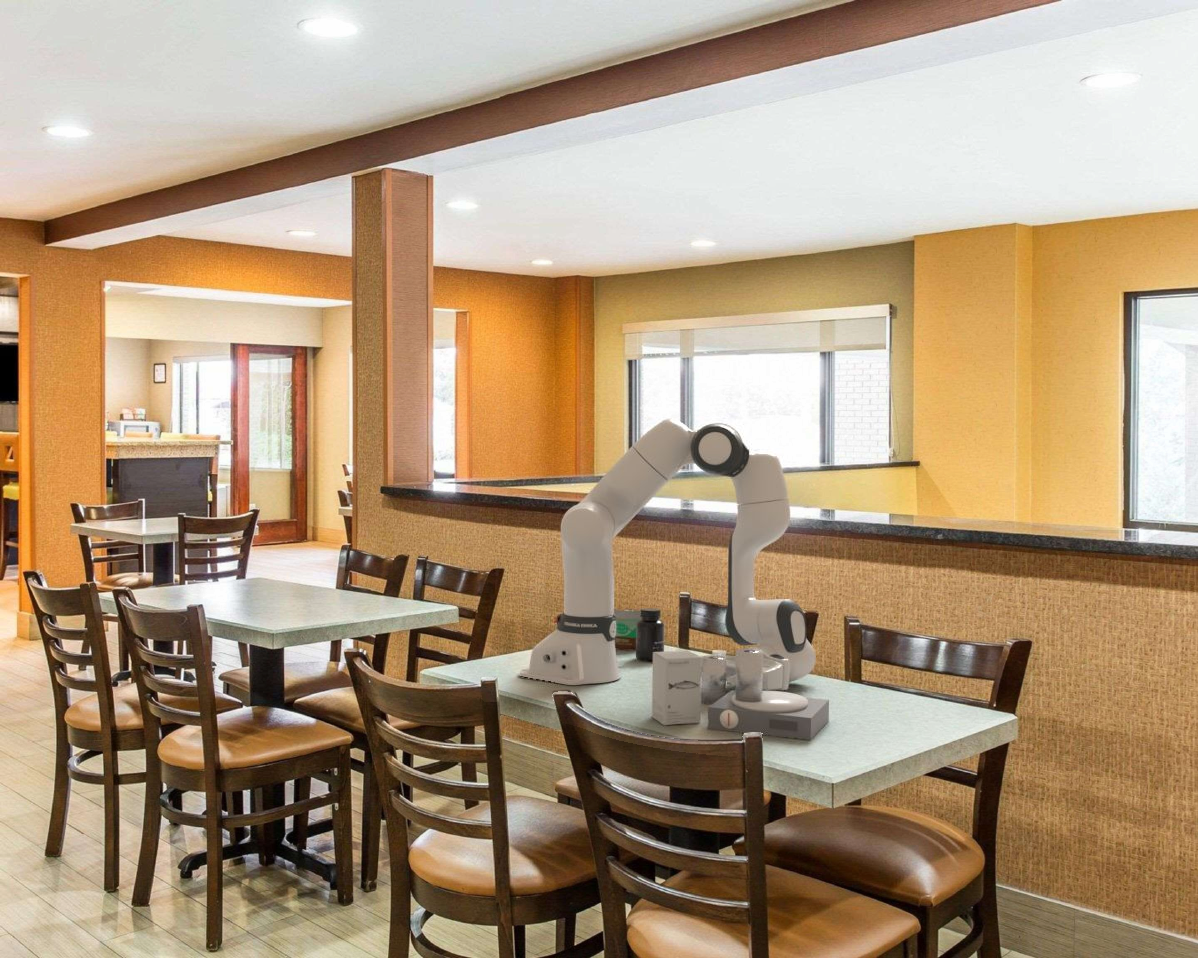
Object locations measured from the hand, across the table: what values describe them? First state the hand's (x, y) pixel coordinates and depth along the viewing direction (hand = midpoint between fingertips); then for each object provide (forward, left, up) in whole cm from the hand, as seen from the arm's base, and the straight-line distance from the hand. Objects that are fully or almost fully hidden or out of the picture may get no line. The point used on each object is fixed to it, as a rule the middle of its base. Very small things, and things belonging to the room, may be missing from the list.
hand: (711, 676), depth 228 cm
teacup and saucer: (-8, +37, -6) cm, 38 cm away
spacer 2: (+12, -14, 0) cm, 19 cm away
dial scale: (+15, -13, -5) cm, 20 cm away
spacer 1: (0, 0, -5) cm, 5 cm away
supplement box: (-2, -17, -5) cm, 18 cm away
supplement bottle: (-27, +35, -5) cm, 45 cm away
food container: (-37, +45, -5) cm, 59 cm away
